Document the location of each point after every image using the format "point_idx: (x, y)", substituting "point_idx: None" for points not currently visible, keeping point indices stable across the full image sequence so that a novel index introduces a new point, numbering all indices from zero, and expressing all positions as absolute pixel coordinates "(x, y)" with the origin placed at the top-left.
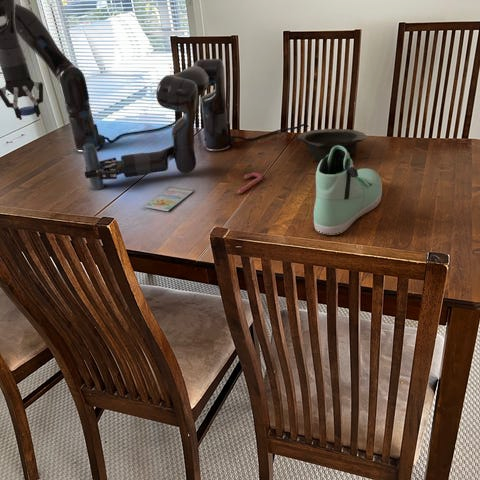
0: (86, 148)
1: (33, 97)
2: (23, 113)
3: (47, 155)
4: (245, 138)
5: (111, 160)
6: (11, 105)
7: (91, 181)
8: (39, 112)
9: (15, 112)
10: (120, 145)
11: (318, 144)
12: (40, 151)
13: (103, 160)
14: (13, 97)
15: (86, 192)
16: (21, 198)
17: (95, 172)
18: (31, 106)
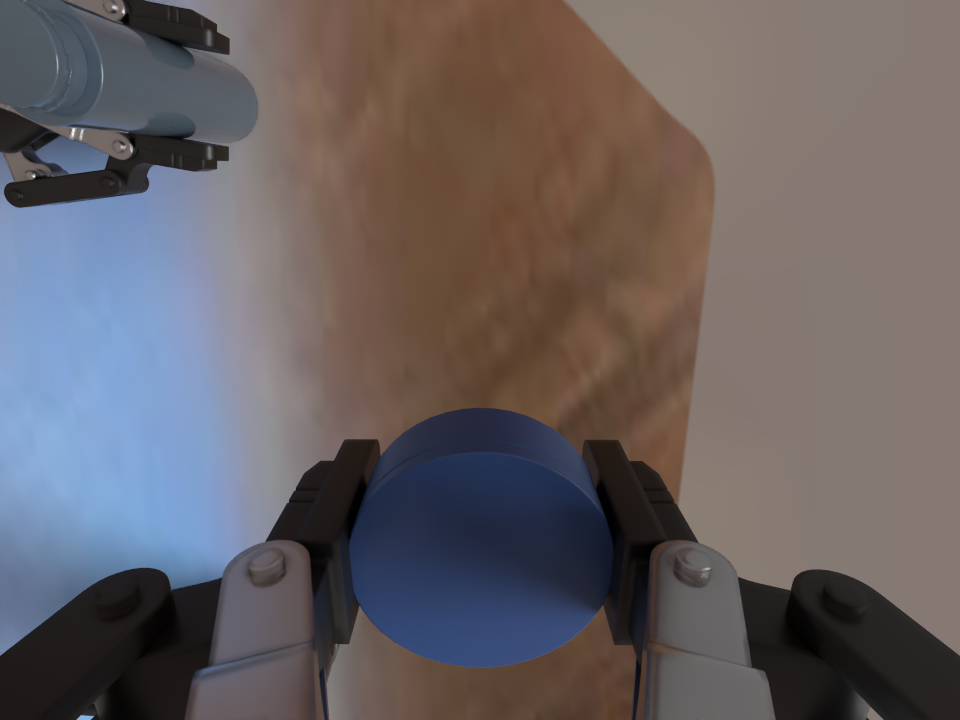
0: (31, 3)
1: (202, 668)
2: (550, 444)
3: None
4: None
5: (36, 173)
6: (768, 618)
7: (222, 68)
8: (312, 480)
9: (675, 518)
10: None
11: None
12: (501, 703)
13: (90, 194)
14: None
15: (287, 61)
16: (632, 181)
17: (137, 4)
18: (401, 633)
